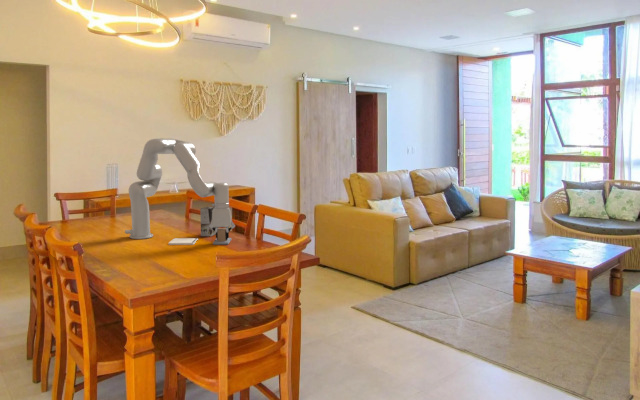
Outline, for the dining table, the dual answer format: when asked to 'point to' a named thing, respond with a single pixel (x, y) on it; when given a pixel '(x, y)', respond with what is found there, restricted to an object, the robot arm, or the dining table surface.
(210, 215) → the coffee box
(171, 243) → the board
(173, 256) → the dining table surface
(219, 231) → the stub
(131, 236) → the robot arm
